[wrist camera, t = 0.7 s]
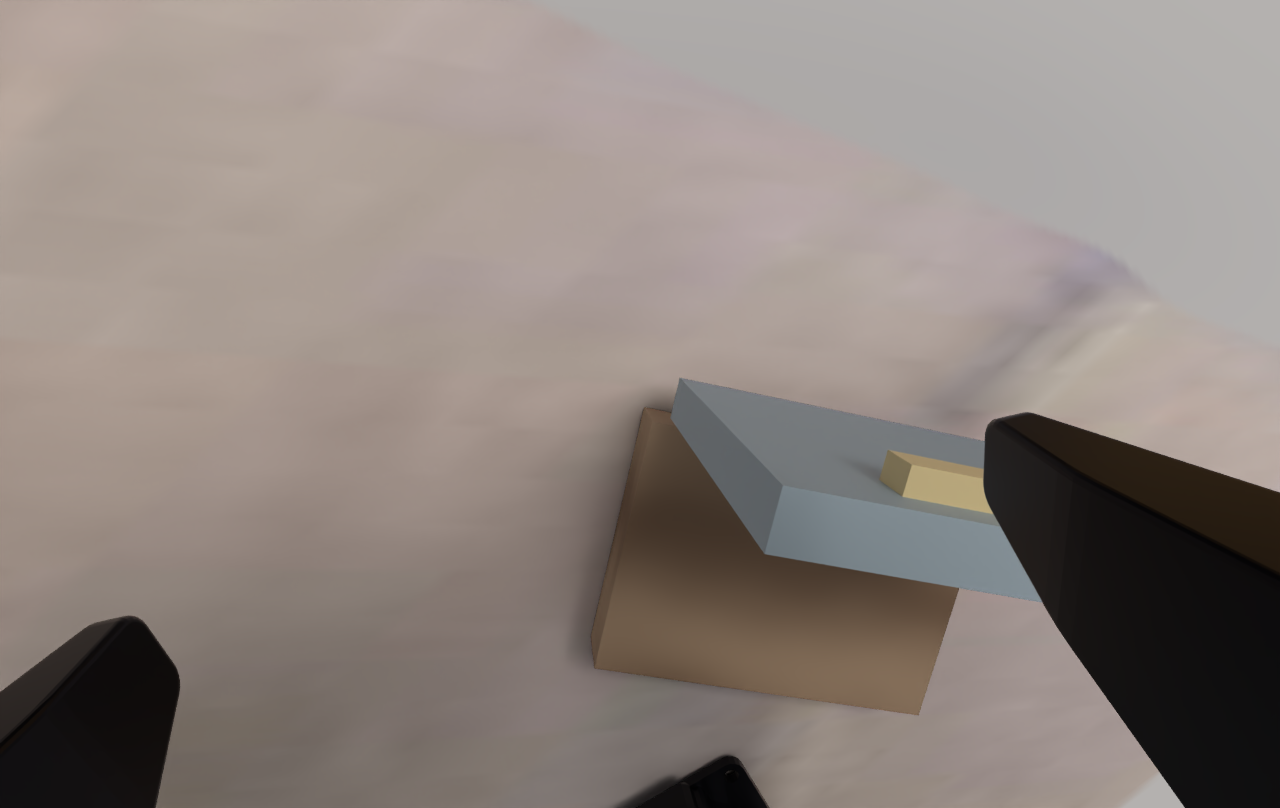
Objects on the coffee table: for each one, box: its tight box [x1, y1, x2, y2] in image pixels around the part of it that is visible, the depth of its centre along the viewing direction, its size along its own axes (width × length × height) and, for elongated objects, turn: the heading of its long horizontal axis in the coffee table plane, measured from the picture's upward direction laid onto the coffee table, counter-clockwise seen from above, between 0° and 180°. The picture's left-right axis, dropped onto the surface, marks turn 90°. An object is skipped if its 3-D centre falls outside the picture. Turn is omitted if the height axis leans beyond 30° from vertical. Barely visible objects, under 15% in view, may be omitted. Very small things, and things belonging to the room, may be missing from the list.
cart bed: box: [591, 407, 959, 715], centre depth 25 cm, size 8×11×2 cm
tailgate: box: [670, 378, 1043, 603], centre depth 18 cm, size 2×10×10 cm, turn 77°
